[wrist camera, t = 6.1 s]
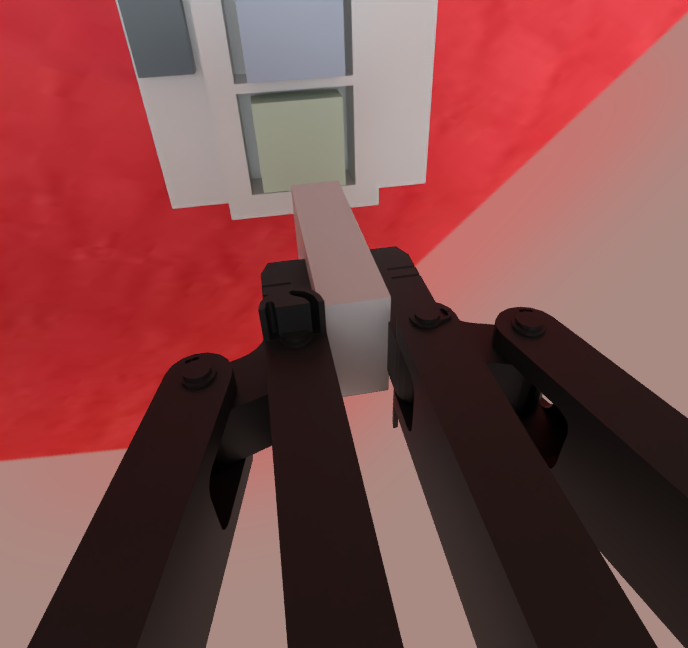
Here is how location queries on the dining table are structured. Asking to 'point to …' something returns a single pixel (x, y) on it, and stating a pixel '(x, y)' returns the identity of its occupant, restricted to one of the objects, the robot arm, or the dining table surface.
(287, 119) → the key sage
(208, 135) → the keypad
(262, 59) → the key slate
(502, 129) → the dining table surface
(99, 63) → the dining table surface
